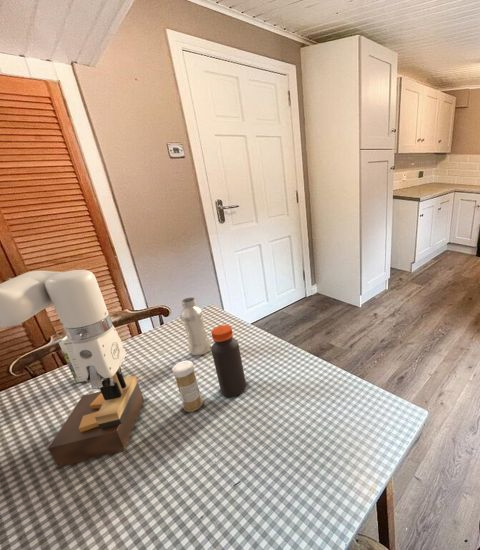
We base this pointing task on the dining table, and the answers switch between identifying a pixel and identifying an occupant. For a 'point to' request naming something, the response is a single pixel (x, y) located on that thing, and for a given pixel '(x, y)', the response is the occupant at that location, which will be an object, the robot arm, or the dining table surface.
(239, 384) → the vinegar
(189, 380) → the sprinkles bottle
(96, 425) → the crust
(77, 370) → the syrup box
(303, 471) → the dining table surface
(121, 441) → the brown box
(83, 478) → the dining table surface
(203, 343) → the plastic bottle
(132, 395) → the brush
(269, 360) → the dining table surface
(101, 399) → the crust
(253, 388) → the dining table surface
